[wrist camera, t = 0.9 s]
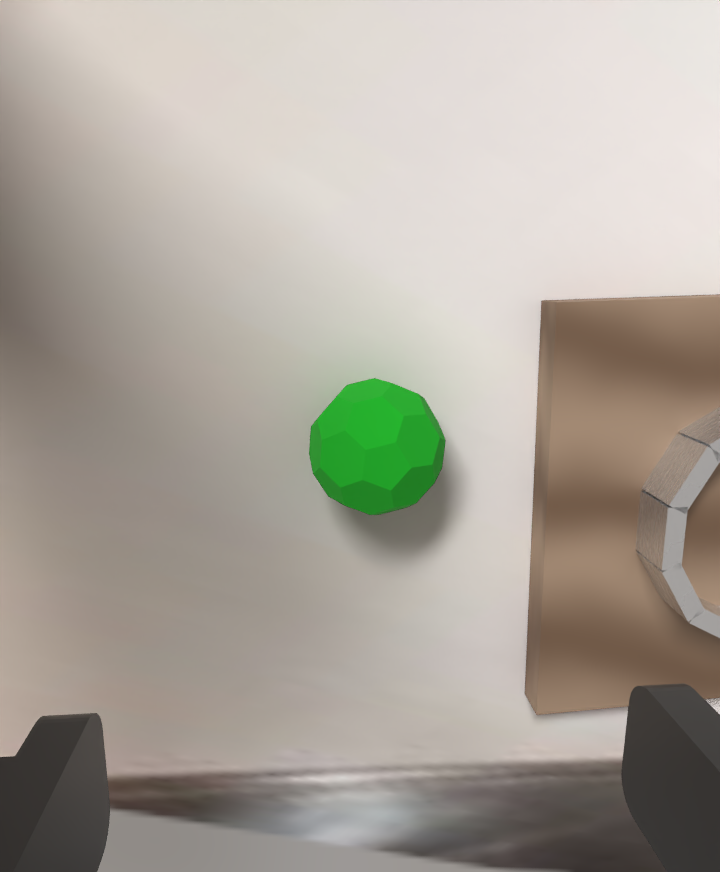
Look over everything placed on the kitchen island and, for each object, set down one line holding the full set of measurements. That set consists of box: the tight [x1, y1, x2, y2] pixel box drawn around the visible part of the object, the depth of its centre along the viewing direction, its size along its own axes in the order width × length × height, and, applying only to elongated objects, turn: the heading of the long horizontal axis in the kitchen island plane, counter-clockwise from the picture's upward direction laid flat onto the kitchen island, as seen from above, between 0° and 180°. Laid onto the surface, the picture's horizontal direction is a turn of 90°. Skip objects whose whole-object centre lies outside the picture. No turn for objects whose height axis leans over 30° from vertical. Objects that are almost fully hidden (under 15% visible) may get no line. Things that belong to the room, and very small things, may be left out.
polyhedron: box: [309, 378, 446, 515], centre depth 24 cm, size 5×5×5 cm
